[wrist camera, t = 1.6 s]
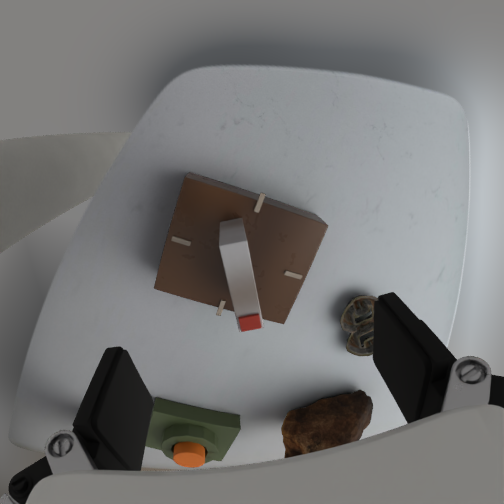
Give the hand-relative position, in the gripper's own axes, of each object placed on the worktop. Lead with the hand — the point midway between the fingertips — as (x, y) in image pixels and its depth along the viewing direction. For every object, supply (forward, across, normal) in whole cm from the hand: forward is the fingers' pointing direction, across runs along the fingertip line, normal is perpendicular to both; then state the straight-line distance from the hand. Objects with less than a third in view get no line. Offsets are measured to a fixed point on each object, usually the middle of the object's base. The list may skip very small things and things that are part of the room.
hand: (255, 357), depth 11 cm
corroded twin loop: (+16, -10, +12) cm, 23 cm away
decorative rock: (+16, -5, +24) cm, 30 cm away
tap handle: (+13, 0, +1) cm, 13 cm away
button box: (+16, +11, +23) cm, 30 cm away
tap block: (+16, 0, +1) cm, 16 cm away
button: (+12, +11, +23) cm, 28 cm away
